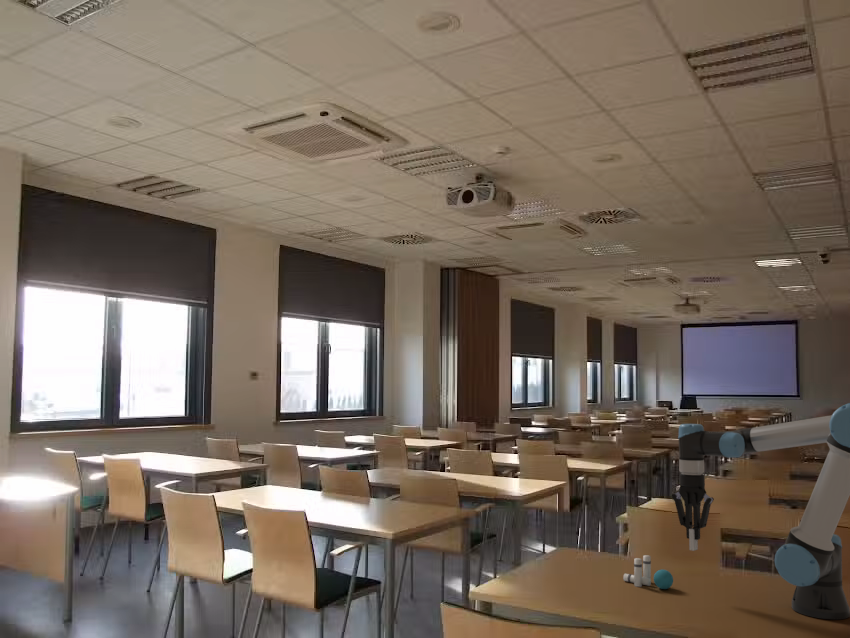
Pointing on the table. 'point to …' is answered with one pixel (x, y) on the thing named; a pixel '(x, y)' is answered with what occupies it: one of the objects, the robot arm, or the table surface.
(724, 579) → the table surface
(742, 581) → the table surface
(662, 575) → the ball
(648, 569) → the pin
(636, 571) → the pin
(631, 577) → the front pin
